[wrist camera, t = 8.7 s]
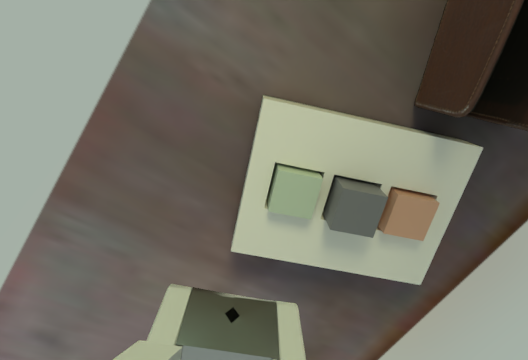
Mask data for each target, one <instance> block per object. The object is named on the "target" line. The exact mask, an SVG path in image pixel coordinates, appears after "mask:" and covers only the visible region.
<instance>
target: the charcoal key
mask: <svg viewBox="0 0 528 360" xmlns="http://www.w3.org/2000/svg"><path fill="white" fill-rule="evenodd" d="M387 200H388V196H387V195H386V194H385V193H384V192H383V191H382V190H381V189H380V188H379V187H378V186H377V185H375V184H370V183H365V182H360V181H355V180H350V179H345V178H341V177H336V176H335V179H334V182H333V185H332V188H331V192H330V195H329V198H328V201H327V205H326V208H325V211H324V214H323V215H324V217H325V220H326V222H327V224H328V226H329V229H330V230H334V231H339V232H344V233H350V234H355V235H360V236H366V237H371V238H373V237H374V234H375V231H376V229H377V226H378V223H379V221H380V218H381V216H382V213H383V210H384V208H385V205H386V202H387Z"/></svg>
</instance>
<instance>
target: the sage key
mask: <svg viewBox="0 0 528 360" xmlns="http://www.w3.org/2000/svg"><path fill="white" fill-rule="evenodd" d="M322 181H323V178H322V176H321V175H320V173H319V171H315V170H310V169H305V168H300V167H296V166H291V165H286V164H281V163H276V165H275V169H274V173H273V177H272V181H271V185H270V189H269V193H268V198H267V201H268V211H269V212H274V213H279V214H285V215H290V216H295V217H300V218H306V219H311V218H312V215H313V211H314V208H315V205H316V201H317V198H318V195H319V191H320V188H321V184H322Z"/></svg>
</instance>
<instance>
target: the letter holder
mask: <svg viewBox="0 0 528 360" xmlns="http://www.w3.org/2000/svg"><path fill="white" fill-rule="evenodd" d="M415 106H416V107H418V108H424V109H428V110H431V111H436V112H439V113H443V114H447V115H450V116H454V117H458V118H459V117H464V116H468V117H473V118H477V119H481V120H485V121H489V122H493V123H497V124H501V125H506V126H510V127H514V128H518V129H522V130H526V131H528V0H448V1H447V4H446V7H445V9H444V13H443V17H442V19H441V22H440V26H439V29H438V32H437V35H436V37H435V41H434V45H433V48H432V50H431V54H430V56H429V60H428V63H427V67H426V69H425V72H424V76H423V79H422V83H421V86H420V88H419V91H418V95H417V97H416V101H415Z"/></svg>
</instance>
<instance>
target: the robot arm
mask: <svg viewBox="0 0 528 360" xmlns="http://www.w3.org/2000/svg"><path fill="white" fill-rule="evenodd" d="M113 360H306V356H305V350H304V343H303V336H302V330H301V323H300V317H299V310H298V306H297V305H296V303H289V302H281V301H271V300H265V299H258V298H251V297H245V296H238V295H232V294H227V293H221V292H216V291H210V290H205V289H199V288H194V287H193V288H191V287H186V286H181V285H175V284H171V285H170V286H169V287H168V289H167V291H166V294H165V296H164V299H163V301H162V304H161V306H160V308H159V311H158V313H157V316H156V318H155V321H154V323H153V326H152V328H151V331H150V333H149V336H148V338H147V341H140V340H139V341H137V342H136V343H135V344H133V345H132V346H131V347H129V348H128V349H126V350H125V351H124V352H122V353H121V354H120V355H118V356H117V357H115V358H114V359H113Z"/></svg>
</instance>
